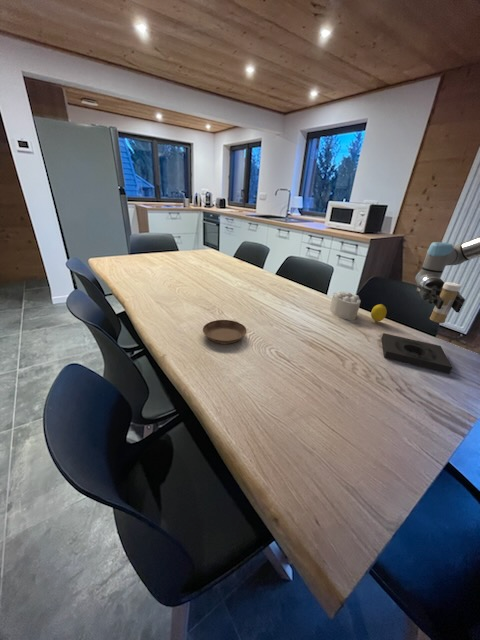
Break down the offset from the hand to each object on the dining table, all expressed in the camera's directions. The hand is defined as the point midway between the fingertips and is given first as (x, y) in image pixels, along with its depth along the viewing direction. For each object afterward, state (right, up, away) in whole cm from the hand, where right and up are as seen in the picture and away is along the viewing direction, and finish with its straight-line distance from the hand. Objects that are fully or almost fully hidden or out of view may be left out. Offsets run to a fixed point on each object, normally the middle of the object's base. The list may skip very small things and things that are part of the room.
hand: (449, 306), depth 84 cm
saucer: (-72, -10, +7) cm, 73 cm away
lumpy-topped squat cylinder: (-21, -1, +33) cm, 39 cm away
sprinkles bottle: (+2, -5, +8) cm, 9 cm away
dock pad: (-9, -16, +5) cm, 19 cm away
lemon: (-10, -5, +27) cm, 29 cm away
